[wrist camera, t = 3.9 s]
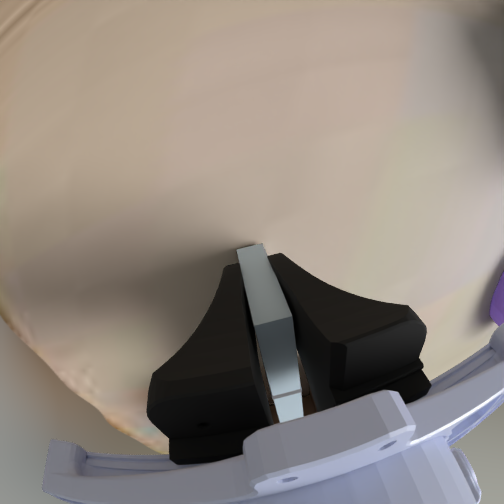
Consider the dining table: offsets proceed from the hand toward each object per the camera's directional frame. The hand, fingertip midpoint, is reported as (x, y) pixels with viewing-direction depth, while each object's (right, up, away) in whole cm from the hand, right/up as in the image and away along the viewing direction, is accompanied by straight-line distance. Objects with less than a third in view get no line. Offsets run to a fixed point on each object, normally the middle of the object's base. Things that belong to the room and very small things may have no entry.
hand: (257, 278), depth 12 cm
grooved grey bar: (+1, -3, +3) cm, 4 cm away
